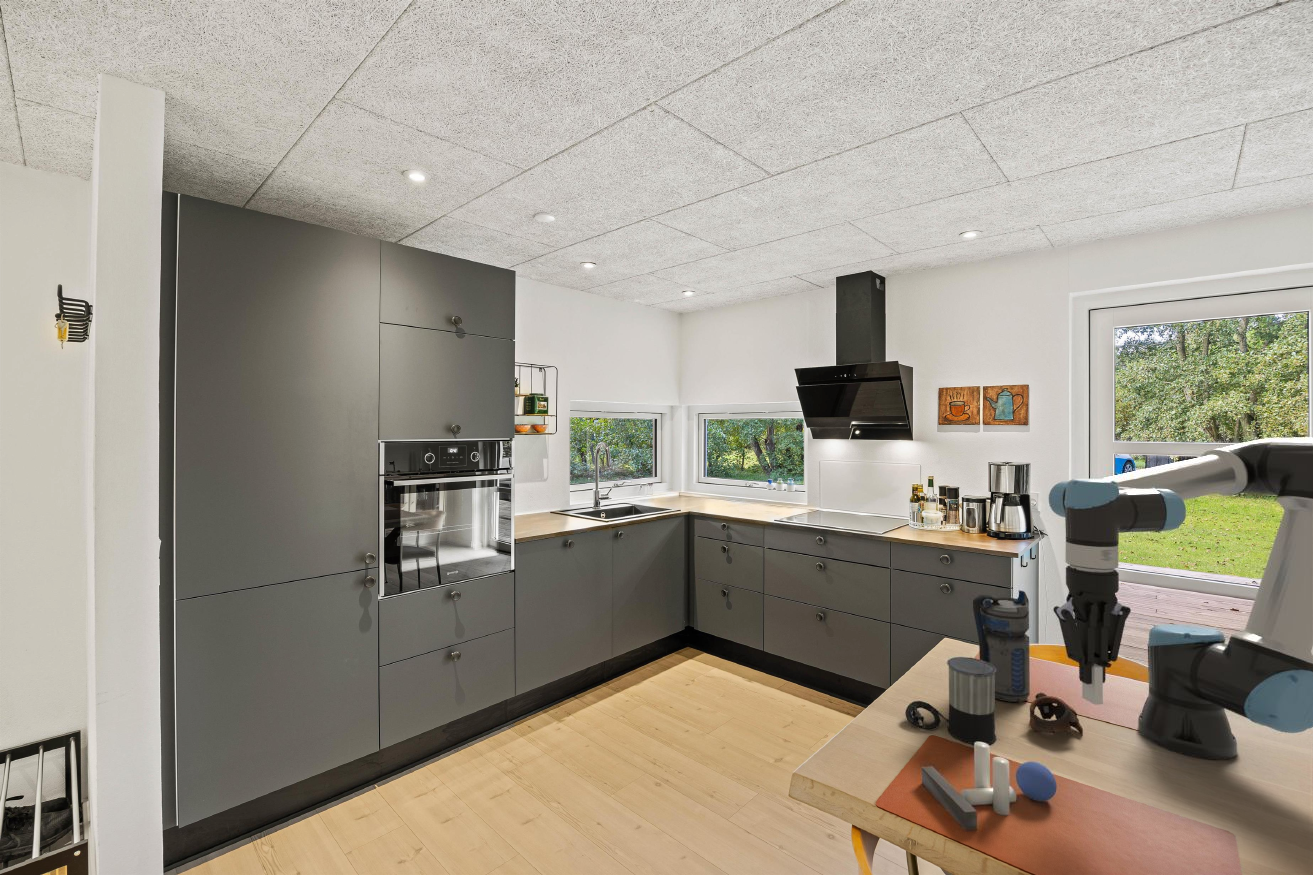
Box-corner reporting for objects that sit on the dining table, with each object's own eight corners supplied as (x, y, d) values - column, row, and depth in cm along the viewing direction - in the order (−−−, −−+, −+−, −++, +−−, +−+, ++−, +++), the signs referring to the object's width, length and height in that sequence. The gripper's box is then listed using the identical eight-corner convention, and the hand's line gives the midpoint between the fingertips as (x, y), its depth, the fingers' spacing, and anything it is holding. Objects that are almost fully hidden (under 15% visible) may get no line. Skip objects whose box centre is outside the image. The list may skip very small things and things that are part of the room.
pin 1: (984, 788, 107) (983, 741, 107) (993, 796, 105) (992, 748, 105) (971, 789, 107) (971, 742, 107) (980, 797, 105) (979, 749, 105)
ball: (1003, 782, 107) (1032, 792, 107) (1027, 802, 101) (1058, 813, 101) (1014, 750, 107) (1043, 760, 108) (1039, 769, 101) (1070, 779, 102)
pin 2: (1003, 805, 102) (1002, 756, 102) (1012, 814, 100) (1012, 764, 100) (990, 806, 102) (989, 757, 102) (999, 815, 100) (998, 765, 100)
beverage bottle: (962, 687, 149) (962, 587, 148) (1013, 684, 150) (1013, 585, 149) (988, 705, 139) (987, 598, 138) (1042, 703, 140) (1042, 596, 139)
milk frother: (1007, 744, 122) (1006, 672, 122) (935, 751, 120) (935, 677, 120) (962, 711, 136) (962, 646, 136) (897, 717, 134) (897, 651, 134)
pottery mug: (1097, 745, 122) (1084, 715, 120) (1052, 762, 124) (1038, 732, 122) (1061, 704, 134) (1049, 676, 132) (1020, 720, 135) (1007, 692, 133)
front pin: (1007, 782, 105) (961, 786, 104) (1016, 792, 102) (969, 795, 102) (1006, 795, 105) (960, 798, 104) (1015, 805, 103) (969, 808, 102)
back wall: (932, 782, 109) (932, 765, 109) (977, 829, 96) (977, 811, 96) (921, 783, 109) (921, 766, 109) (965, 830, 96) (965, 812, 96)
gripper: (1074, 573, 100) (1075, 713, 101) (1145, 570, 102) (1145, 708, 102) (1041, 563, 108) (1042, 693, 108) (1107, 561, 109) (1108, 689, 110)
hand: (1092, 700), depth 105 cm, fingers closed
